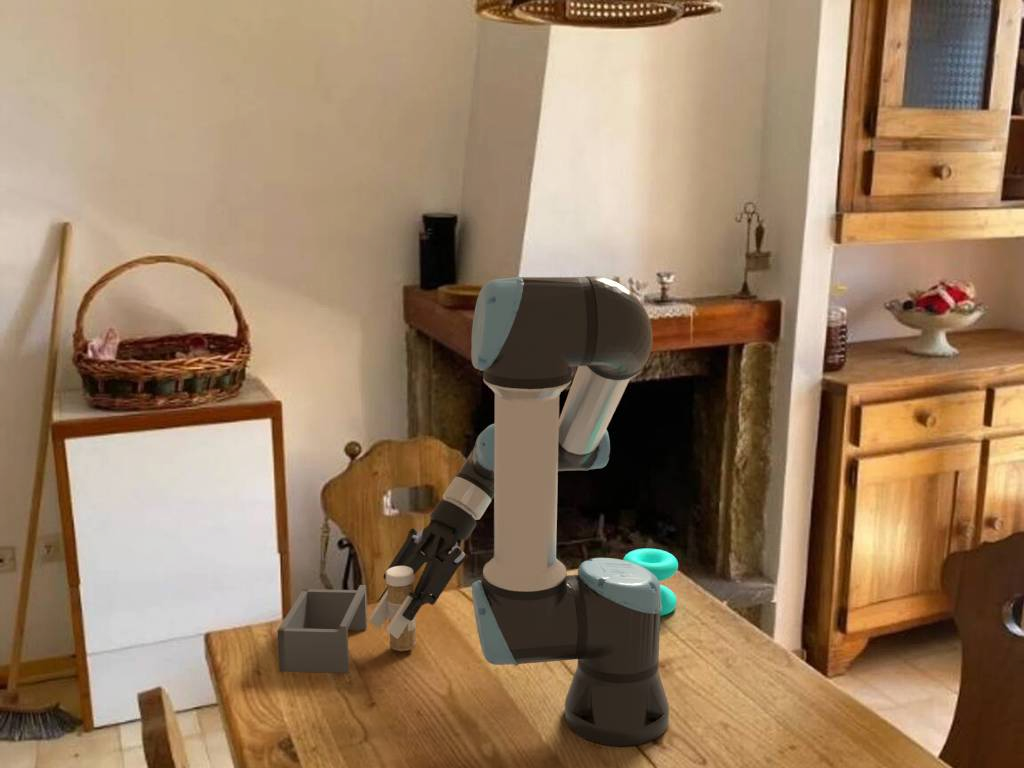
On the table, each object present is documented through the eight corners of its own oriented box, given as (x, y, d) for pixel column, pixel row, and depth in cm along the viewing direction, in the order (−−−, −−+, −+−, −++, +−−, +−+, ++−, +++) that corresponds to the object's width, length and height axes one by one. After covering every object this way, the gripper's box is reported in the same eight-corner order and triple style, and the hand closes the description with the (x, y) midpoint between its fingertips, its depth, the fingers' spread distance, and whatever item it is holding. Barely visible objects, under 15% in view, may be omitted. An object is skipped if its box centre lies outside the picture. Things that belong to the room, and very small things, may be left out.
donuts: (655, 571, 171) (611, 556, 178) (653, 624, 174) (610, 607, 181) (689, 556, 178) (645, 542, 185) (687, 607, 180) (644, 591, 187)
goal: (347, 673, 156) (346, 626, 155) (279, 671, 157) (277, 624, 155) (367, 627, 172) (365, 585, 170) (304, 626, 173) (303, 583, 171)
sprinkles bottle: (421, 647, 163) (418, 571, 160) (396, 654, 161) (393, 578, 158) (408, 636, 167) (405, 562, 164) (384, 643, 164) (380, 568, 162)
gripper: (505, 534, 164) (428, 658, 156) (440, 509, 176) (366, 622, 169) (481, 511, 159) (400, 637, 152) (416, 486, 172) (338, 602, 164)
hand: (382, 629), depth 160 cm, fingers closed on sprinkles bottle, 4 cm apart
